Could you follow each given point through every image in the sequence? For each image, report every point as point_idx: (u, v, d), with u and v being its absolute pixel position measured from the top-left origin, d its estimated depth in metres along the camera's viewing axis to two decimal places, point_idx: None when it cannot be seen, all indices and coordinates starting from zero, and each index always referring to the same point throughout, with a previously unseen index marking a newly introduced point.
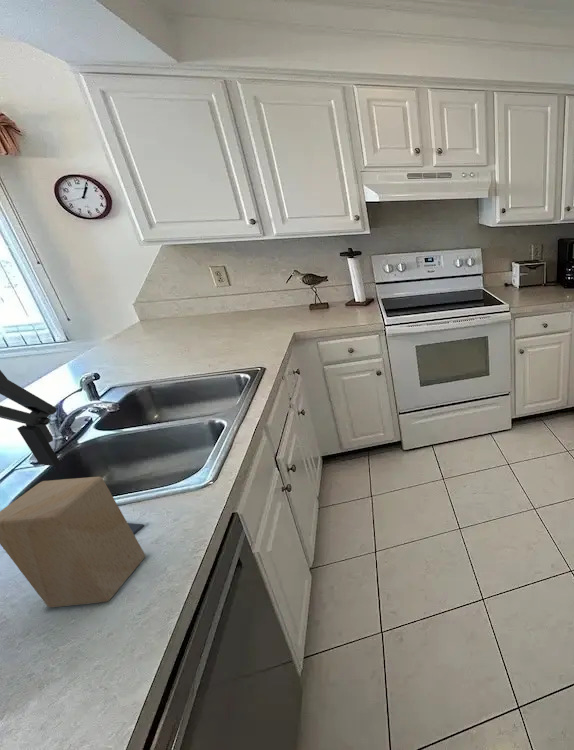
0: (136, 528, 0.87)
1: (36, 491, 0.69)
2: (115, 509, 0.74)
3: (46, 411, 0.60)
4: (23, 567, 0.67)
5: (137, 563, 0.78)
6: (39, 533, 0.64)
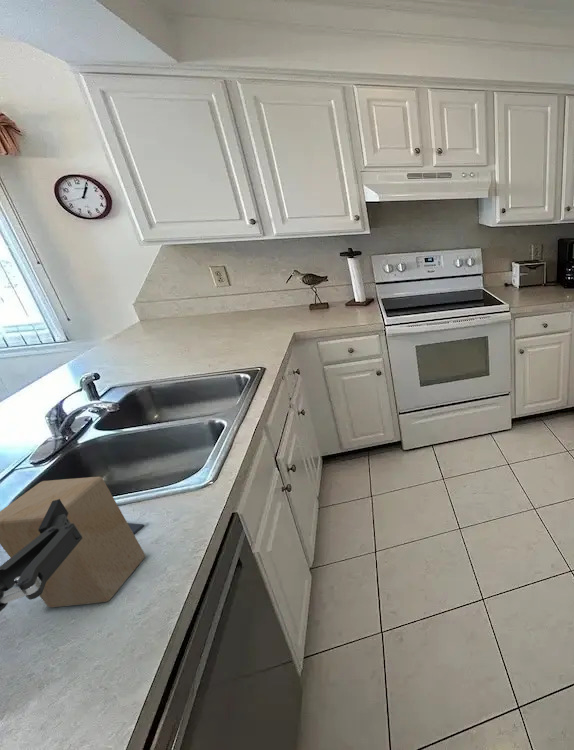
0: (136, 528, 0.87)
1: (36, 491, 0.69)
2: (115, 509, 0.74)
3: None
4: None
5: (137, 563, 0.78)
6: (39, 533, 0.64)
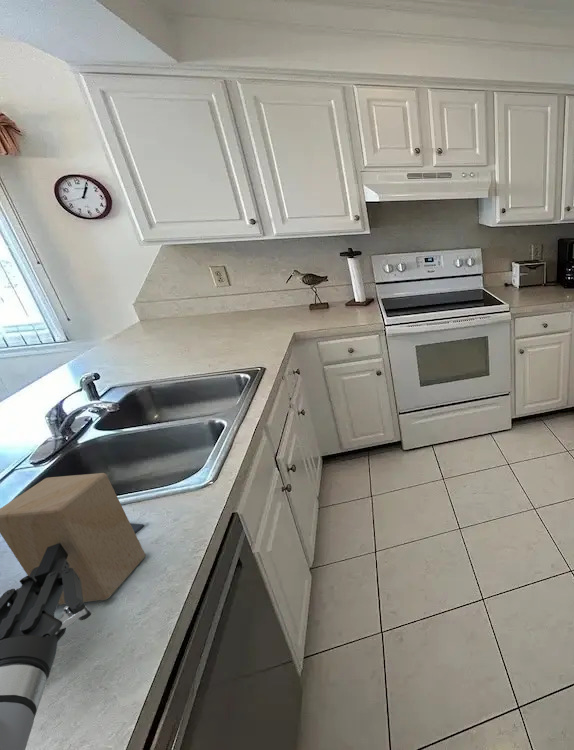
0: (136, 528, 0.87)
1: (41, 486, 0.70)
2: (117, 506, 0.75)
3: None
4: (25, 562, 0.67)
5: (137, 562, 0.78)
6: (43, 527, 0.65)
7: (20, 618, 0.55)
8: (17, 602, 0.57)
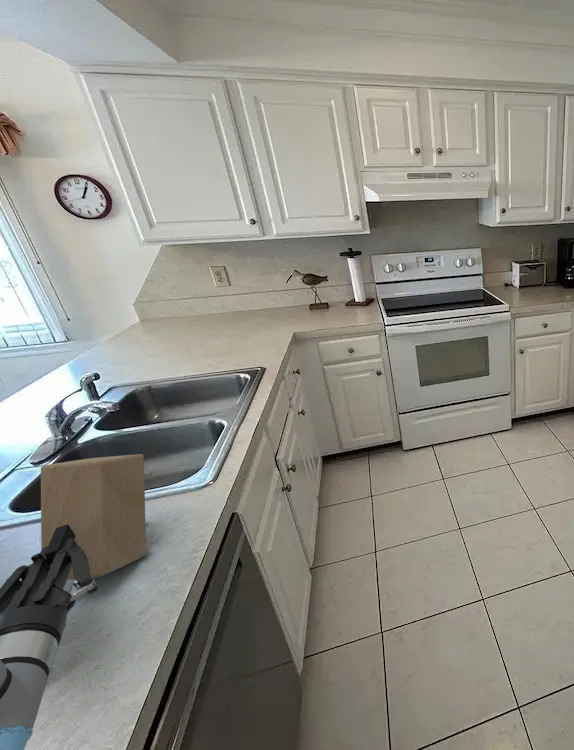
0: None
1: (87, 459, 0.78)
2: (142, 489, 0.81)
3: None
4: (46, 522, 0.71)
5: (137, 556, 0.79)
6: (80, 480, 0.72)
7: (32, 591, 0.59)
8: (29, 577, 0.60)
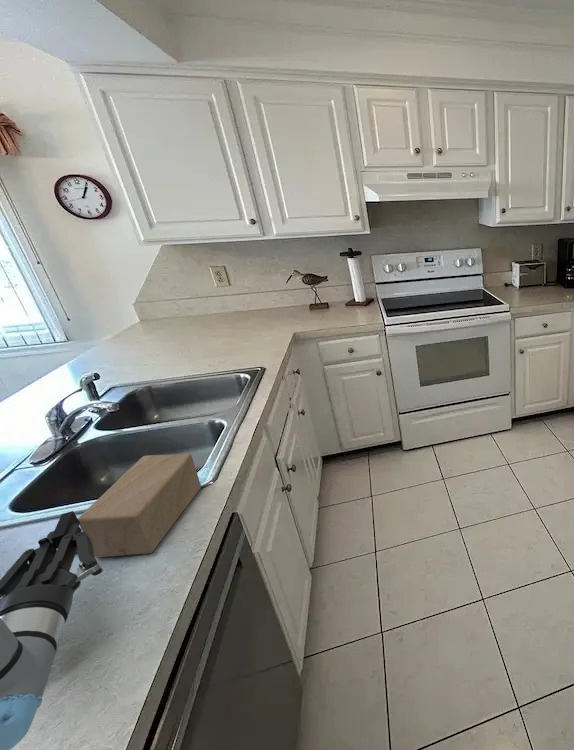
0: None
1: None
2: (185, 504, 0.92)
3: None
4: (119, 482, 0.85)
5: (150, 542, 0.81)
6: (168, 461, 0.92)
7: (39, 572, 0.61)
8: (36, 559, 0.63)
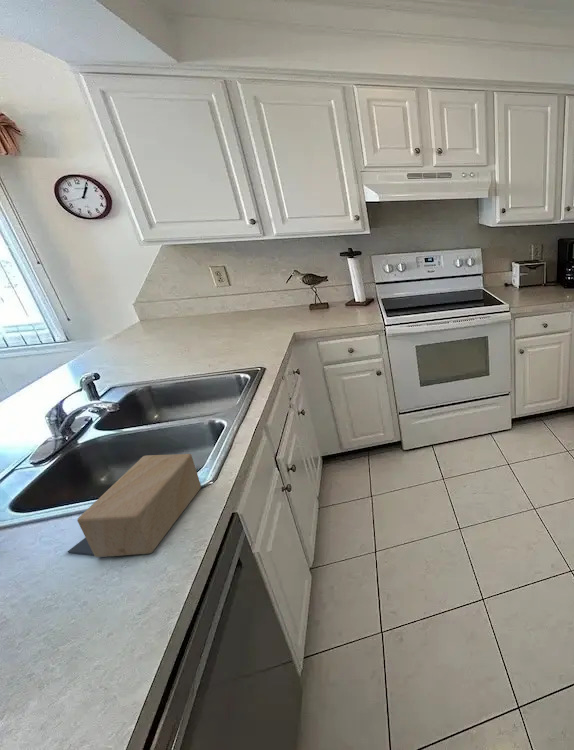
0: None
1: None
2: (185, 504, 0.92)
3: None
4: (119, 482, 0.85)
5: (150, 542, 0.81)
6: (168, 461, 0.92)
7: None
8: None
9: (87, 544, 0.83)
